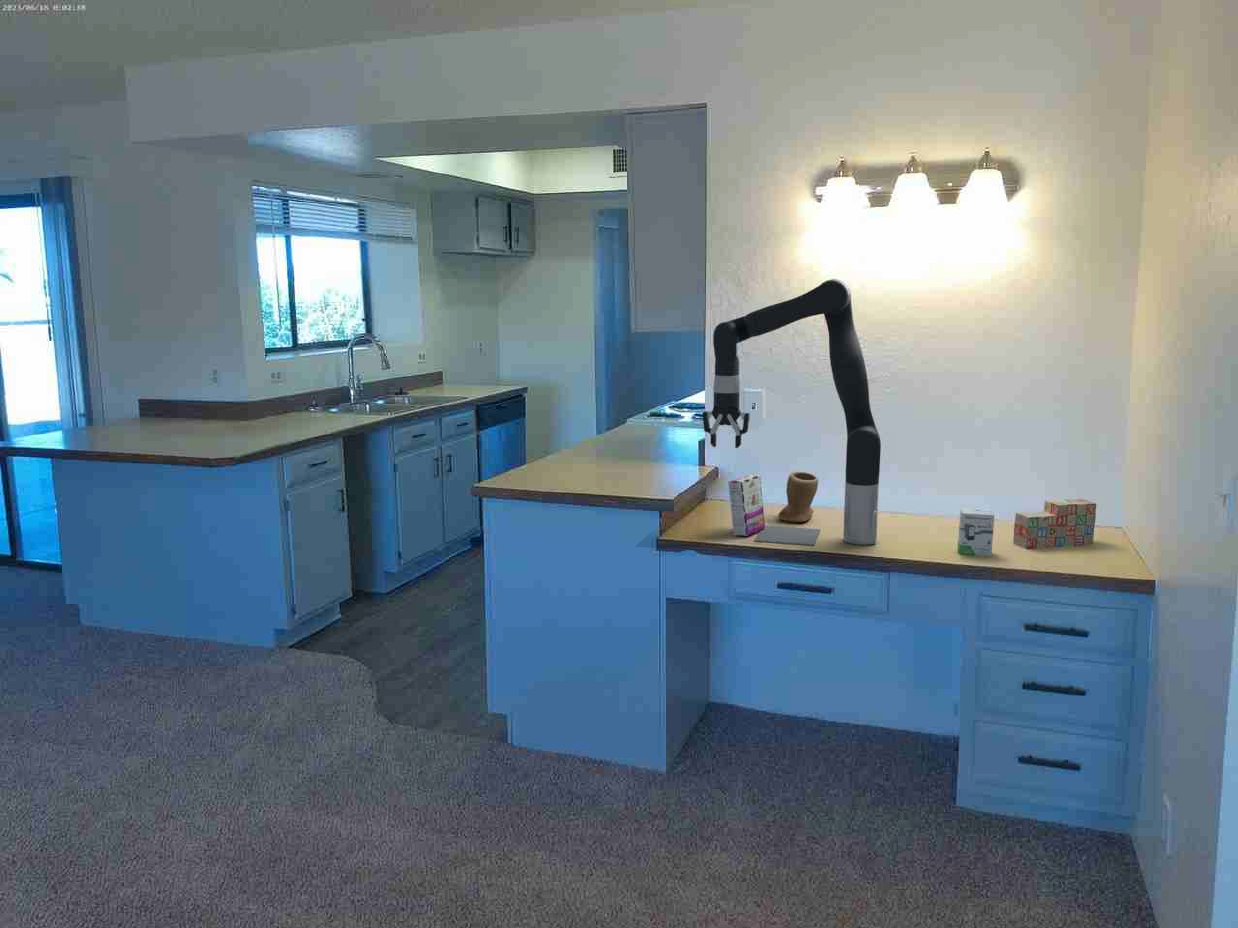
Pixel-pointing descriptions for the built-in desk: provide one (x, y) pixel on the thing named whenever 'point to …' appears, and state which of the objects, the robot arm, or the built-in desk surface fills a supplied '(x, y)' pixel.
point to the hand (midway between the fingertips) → (725, 446)
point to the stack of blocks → (1056, 525)
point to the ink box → (976, 532)
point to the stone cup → (799, 497)
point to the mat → (788, 535)
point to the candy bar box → (746, 505)
